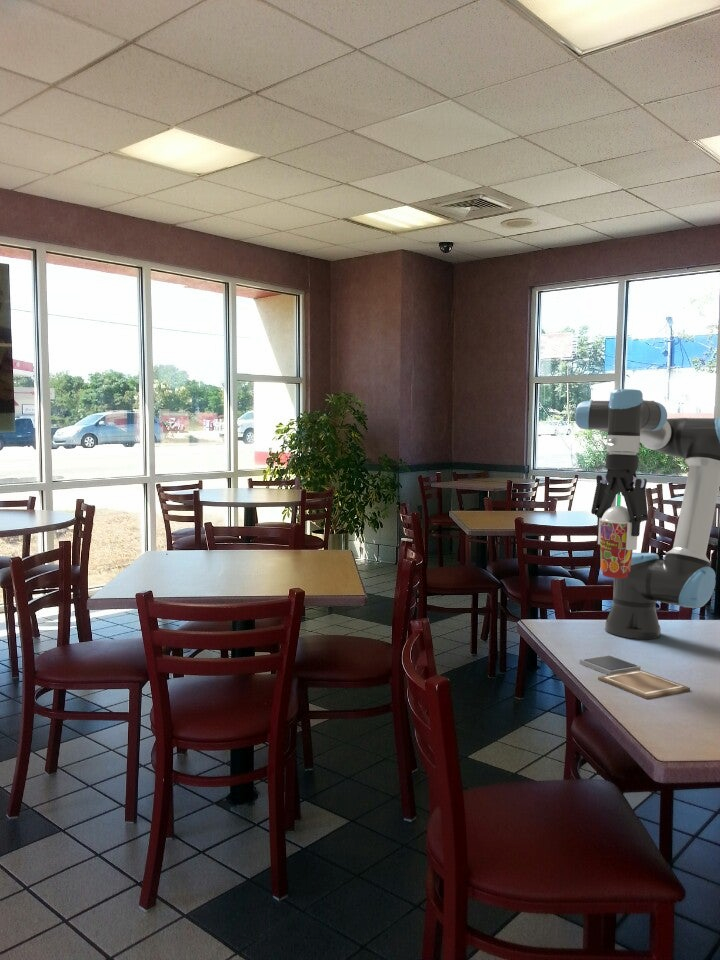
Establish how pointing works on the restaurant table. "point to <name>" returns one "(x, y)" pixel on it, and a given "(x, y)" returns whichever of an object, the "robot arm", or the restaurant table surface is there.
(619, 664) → the ink pad
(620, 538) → the smoothie
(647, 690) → the board
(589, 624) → the restaurant table surface
